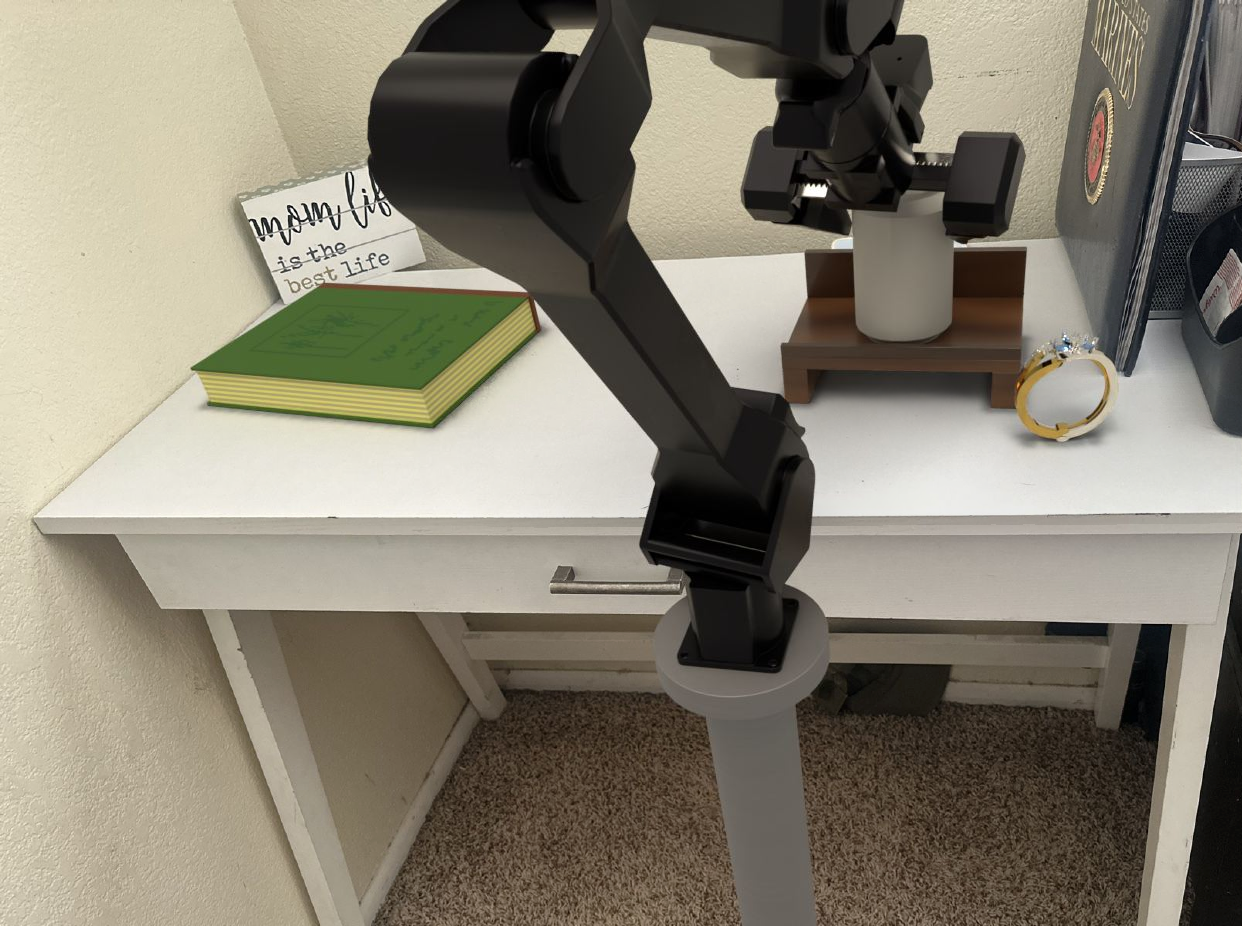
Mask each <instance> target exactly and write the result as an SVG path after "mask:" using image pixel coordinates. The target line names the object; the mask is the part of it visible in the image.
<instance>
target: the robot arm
mask: <svg viewBox="0 0 1242 926" xmlns="http://www.w3.org/2000/svg"><path fill="white" fill-rule="evenodd" d="M904 4H905V0H445V1H444V2H443V3H442V4H441V5H439V6H438V7H437V8H435V10H433V11H432V12H431V13H430V14H429V15H427V16H426V17H425V18H424V19H423V21H422V22H421V23H420V24H419V25H418V27H417V29H416V30H415V32H414V34H413V35H412V36H411V38H410V39H409V42H408V43H407V45H406V47H405V48H404V50H403V52H402V53H401V55H400V56H398V57H397V58H395V59H393V60H391V62H390V63H389V64H388V65H387V67H386V68H385V69H384V70H383V71H382V73H381V74H380V75H379V77H378V78H377V82H376V85H375V88H374V90H373V93H372V96H371V98H370V100H369V101H370V102H369V113H368V116H367V132H366V134H367V135H366V139H367V144H368V147H369V151H370V153H369V154H368V155H367V161H366V162H367V168H368V169H369V172H370V174H371V177H372V179H373V181H374V184H375V185H376V186H377V188H378V190H379V191H380V192H381V194H382V195H383V197H384V198H385V200H386V201H387V202H388V204H389V205H391V207H392V208H393V209H395V210H396V212H398V213H399V214H400V215H402V217H405V218H406V219H407V220H408V221H410V222H411V223H412V224H414V225H415V226H416V227H418V228H419V229H420V230H422V231H423V232H424V233H425V234H427V235H428V236H429V237H431V238H432V239H433V240H434V241H435V242H437V243H439V244H440V245H441V246H442V247H443V248H445V249H446V250H447V251H450V252H452V253H453V254H456V255H458V256H460V257H462V258H463V259H466V260H468V261H470V262H471V263H473V264H476V265H477V266H480V267H482V268H484V269H486V270H488V271H490V272H492V273H494V274H496V275H498V276H500V277H503V278H504V279H506V280H509V281H510V282H513V283H515V284H516V285H518V286H519V287H521V288H522V289H524V291H525V292H528V293H529V294H530V295H531V297H532V298H533V299H534V302H535V304H537V305H538V306H539V307H540V309H541V310H542V311H543V312H544V314H545V315H546V316H547V317H548V318H549V319H550V321H551V322H552V323H553V324H554V325H555V327H556V329H558V330H559V331H560V333H561V334H562V335H563V336H564V337H565V339H566V340H567V341H568V342H569V344H570V345H571V346H572V347H573V348H574V350H575V351H576V352H577V353H578V354H579V355H580V357H581V358H582V359H583V360H584V362H585V363H586V364H587V365H588V366H589V368H590V369H591V370H592V372H594V373H595V375H596V376H597V377H598V378H599V380H600V381H601V382H602V383H603V384H604V385H605V387H606V388H607V389H608V390H609V391H610V392H611V394H612V395H613V396H614V397H615V398H616V400H617V401H618V402H619V404H620V405H621V406H622V407H623V408H624V410H625V411H627V413H628V414H629V415H630V417H631V418H632V419H633V420H634V421H635V422H636V424H637V425H638V426H639V428H641V430H642V431H643V432H644V433H645V434H646V436H647V437H648V438H649V440H651V442H652V443H653V444H654V445H655V447H656V448H657V451H656V454H655V458H654V461H653V464H652V468H651V471H650V476H651V478H652V480H653V482H654V485H653V489H652V493H651V496H650V499H649V500H650V501H649V504H648V507H647V512H646V515H645V520H644V523H643V526H642V530H641V534H640V538H639V541H638V546H639V547H638V548H639V549H640V551H641V553H642V554H643V556H644V558H645V560H646V561H647V563H648V564H649V565H652V566H664V567H667V568H672V569H676V570H680V571H682V576H683V581H684V588H685V593H686V596H687V600H688V605H689V611H690V617H691V621H690V624H689V626H688V629H687V631H686V634H685V636H684V638H683V641H682V643H681V646H680V648H679V651H678V653H677V661H678V663H679V664H680V665H683V666H693V667H704V668H715V669H726V670H737V671H748V672H759V673H770V674H776V673H779V672H780V671H781V670H782V668H783V664H784V661H785V657H786V654H787V650H788V647H789V643H790V640H791V636H792V633H793V629H794V626H795V623H796V619H797V616H798V612H799V601H798V600H797V599H793V598H782V590H781V589H782V587H783V586H784V584H787V581H788V580H789V579H790V578H791V576H792V574H793V573H794V571H796V569H797V567H798V566H799V564H800V563H801V562H802V560H803V558H804V557H805V556H806V554H807V553H808V552H809V549H810V548H811V547H810V546H811V535H812V525H813V524H812V523H813V512H814V499H815V489H816V469H815V464H814V462H813V460H811V457H810V452H809V450H808V447H807V445H806V443H805V441H804V440H803V439H802V438H803V436H804V435H805V434H806V427H804V426H802V425H800V424H799V423H798V422H797V420H796V418H795V415H794V413H793V409H792V407H791V404H790V403H789V402H787V401H786V399H785V396H783V395H782V394H781V393H777V392H772V391H771V392H770V391H764V390H758V389H757V390H756V389H750V388H744V387H736V386H731V385H730V383H729V381H728V379H727V378H726V377H725V375H724V373H723V372H722V370H721V368H720V367H719V366H718V364H717V362H716V361H715V359H714V357H713V356H712V354H711V353H710V351H709V350H708V348H707V346H706V345H705V344H704V342H703V340H702V338H701V337H700V336H699V334H698V332H697V331H696V329H695V328H694V326H693V323H691V321H690V319H689V317H688V316H687V315H686V313H685V311H684V310H683V308H682V307H681V306H680V304H679V302H678V301H677V299H676V298H675V296H674V294H673V293H672V291H671V289H670V288H669V287H668V284H667V283H666V282H665V280H664V278H663V277H662V275H661V273H660V272H659V270H658V269H657V267H656V265H655V264H654V262H653V261H652V258H651V257H650V256H649V255H648V253H647V251H646V250H645V248H644V246H643V245H642V243H641V242H640V240H639V239H638V237H637V236H636V234H635V232H634V231H633V229H632V227H631V225H630V222H629V220H628V216H629V212H630V211H629V210H630V205H631V199H632V193H633V186H634V182H635V177H636V172H637V171H636V170H637V163H636V161H635V158H634V154H633V153H632V151H631V148H632V146H633V144H634V142H635V140H636V138H637V136H638V134H639V131H640V130H641V128H642V126H643V123H644V122H645V119H646V117H647V116H648V114H649V111H650V110H651V107H652V103H653V93H652V92H653V91H652V87H651V81H650V74H649V68H648V63H647V55H646V50H645V44H644V43H645V40H646V39H650V40H651V39H652V40H658V41H664V42H670V43H676V44H684V45H689V46H695V47H700V48H704V49H706V51H709V60H710V61H711V63H712V64H713V65H714V66H716V67H718V68H720V69H722V70H724V71H725V72H727V73H729V74H730V75H733V76H735V77H737V78H739V79H742V80H743V79H744V80H745V79H747V80H751V79H752V80H756V79H757V80H775V85H774V96H775V100H776V102H777V110H776V112H775V117H774V120H773V125H765V126H764V127H763V128H761V129H760V130H758V131H757V133H756V134H755V135H754V136H753V138H752V142H751V147H750V150H749V155H748V158H747V162H746V166H745V170H744V174H743V177H742V178H743V179H742V182H741V185H740V190H739V193H740V202H741V204H742V206H743V207H744V210H746V212H747V213H748V214H749V215H750V216H751V218H752V219H753V220H754V221H757V222H759V221H760V222H770V223H771V224H773V225H780V226H787V227H793V228H798V229H804V230H805V229H806V230H810V231H816V232H817V231H818V232H823V233H829V234H834V235H839V236H844V237H845V236H846V237H848V236H850V235H851V230H852V217H851V215H850V213H849V211H852V210H863V211H879V212H895V213H897V209H898V205H899V201H900V197H901V196H902V195H904V193H905V192H906V191H907V190H912V191H931V192H945V194H944V198H943V209H942V222H943V224H944V226H945V228H946V233H945V235H946V236H947V237H949V238H951V239H952V240H954V241H956V242H957V243H960V244H966V245H968V242H969V241H972V240H974V239H980V240H982V239H986V238H987V237H990V238H999V237H1000V236H1001V235H1003V234H1004V233H1006V232H1008V231H1009V229H1010V224H1011V221H1012V216H1013V213H1014V207H1015V204H1016V200H1017V196H1018V191H1019V187H1020V182H1021V179H1022V175H1023V170H1024V165H1025V162H1026V158H1027V155H1026V150H1025V146H1024V143H1023V141H1022V139H1021V138H1020V136H1019V135H1018V134H1017V132H1013V131H1012V132H1011V131H974V130H964V131H962V133H961V134H960V135H959V136H957V141H956V144H955V149H954V152H933V151H931V152H929V151H914V150H913V148H914V145H915V144H916V145H918V144H919V145H921V144H922V140H923V138H924V132H925V129H926V125H925V123H924V120H923V117H922V115H921V110H922V108H923V106H924V103H925V101H926V99H927V96H928V94H929V91H931V90H932V88H933V85H934V76H933V69H932V63H931V56H930V48H929V41H928V38H927V37H926V36H925V35H922V34H917V33H915V34H913V33H912V34H911V33H910V34H897V32H898V29H899V24H900V21H901V20H900V19H901V16H902V13H903V10H904V9H903V8H904ZM561 30H562V31H567V30H568V31H570V30H592V32H591V34H590V36H589V38H588V39H587V41H586V43H585V45H584V47H583V49H582V51H581V53H580V55H578V53H568V52H565V51H551V50H544V49H545V48H546V47H547V45H548V44H549V43H550V42H551V40H552V38H553V36H554V34H555V32H556V31H561ZM684 657H687V658H684ZM772 665H775V666H772Z"/></svg>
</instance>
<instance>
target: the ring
mask: <svg viewBox="0 0 1242 926" xmlns="http://www.w3.org/2000/svg"><path fill="white" fill-rule="evenodd" d="M1089 337H1090V334H1089V333H1085V334H1084V336H1083V335H1081V334H1080V331H1078V330H1075V331H1074V334H1073V335H1070V334H1068V330H1063V329H1062V331H1061V335H1059V336H1056V337H1054V338H1051V339H1050V340H1048V341H1046V342H1045V343H1043V344H1042V345H1041V346H1039V347H1038V348H1037V349H1036V350H1035V351H1034V352H1032V353H1031V354H1030V355H1029V357H1028V358H1027V359H1026V360H1025V362H1024V363H1023V366H1022V367H1021V368H1020V373H1019V376H1018V378H1017V381H1016V385H1015V390H1014V400H1015V405H1016V408H1015V409H1016V412H1017V416H1018V418H1019V420H1020V422H1021V423H1022V424H1023V426H1024V427H1025V428H1027V429H1028V430H1029V431H1030V432H1031V433H1033V434H1035V435H1037V436H1039V437H1042V438H1047V439H1054V440H1056V442H1060V443H1063V442H1068V441H1069V439H1071V438H1075V437H1079V436H1081V435H1084V434H1086V433H1088V432H1090V431H1092V430H1093V429H1095V428H1096V427H1097V426H1099V425H1100V424H1101V423H1102V422H1103V421H1104V420H1105V419H1106V418H1107V417H1108V416H1109V414H1110V413H1111V411H1112V410H1113V408H1114V406H1115V405H1116V402H1117V400H1118V396H1119V392H1120V381H1119V375H1118V371H1117V369H1116V366H1115V364H1114V362H1113V361H1112V359H1111V357H1109V355H1107V354H1106V353H1105V352H1102V351H1101V350H1099V349H1098V348H1097V345H1098V343H1099V340H1100V338H1099V337H1097V336H1094V337H1093V338H1092V341H1091V343H1088V340H1089ZM1049 354H1051V355H1053V356H1055V357H1052V358H1050V359H1047V360H1045V361H1043V362H1041V361H1042V360H1044V359H1045V358H1046V357H1047V356H1048V355H1049ZM1083 359H1084V360H1090V361H1091V362H1093V363H1094V364H1095V365H1096V366H1097V367H1098V368H1099V369H1100V371H1101V373H1102V374H1103V378H1104V391H1103V395H1102V397H1101V400H1100V402H1099V403H1098V405H1097V407H1096V408H1095V409H1094V410H1093V411H1092V412H1091V413H1090V414H1089V415H1088V416H1087V417H1085V418H1084V419H1082V420H1080V421H1077V422H1075V423H1070V424H1067V423H1066V422H1058V423H1056V424H1055V425H1049V424H1048V425H1047V424H1044V423H1042V422H1040V421H1037V420H1036V419H1035V418H1034V417H1032V416H1031V415H1030V413H1029V412H1028V410H1027V398H1028V396H1029V394H1030V391H1031V390H1032V389H1033V387H1034V386H1036V384H1037V383H1038V382H1039V381H1040V380H1041V379H1043V378H1044V377H1045V376H1047V375H1048V374H1050V373H1052V372H1053V371H1055V370H1056V369H1058V368H1060V367H1063V364H1064V363H1065V362H1071V361H1076V360H1083ZM1040 362H1041V363H1040Z"/></svg>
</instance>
